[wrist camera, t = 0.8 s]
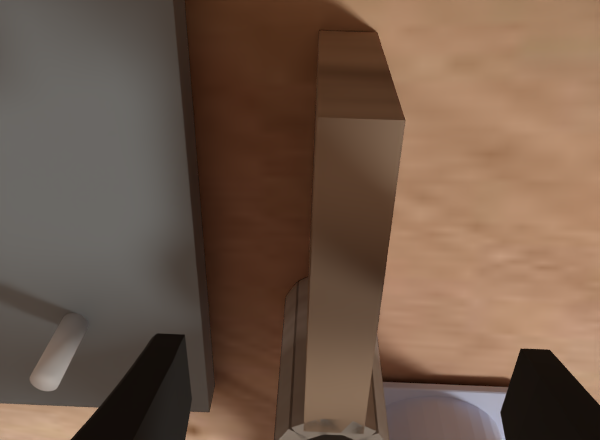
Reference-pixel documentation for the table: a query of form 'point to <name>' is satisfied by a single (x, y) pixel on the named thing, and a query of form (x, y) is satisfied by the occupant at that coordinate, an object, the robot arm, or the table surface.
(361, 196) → the door
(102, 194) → the hinge board
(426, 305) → the table surface
